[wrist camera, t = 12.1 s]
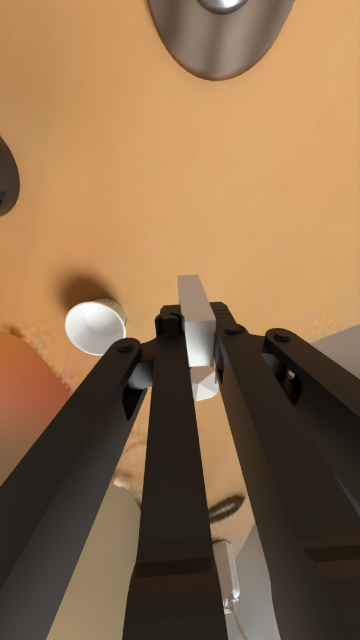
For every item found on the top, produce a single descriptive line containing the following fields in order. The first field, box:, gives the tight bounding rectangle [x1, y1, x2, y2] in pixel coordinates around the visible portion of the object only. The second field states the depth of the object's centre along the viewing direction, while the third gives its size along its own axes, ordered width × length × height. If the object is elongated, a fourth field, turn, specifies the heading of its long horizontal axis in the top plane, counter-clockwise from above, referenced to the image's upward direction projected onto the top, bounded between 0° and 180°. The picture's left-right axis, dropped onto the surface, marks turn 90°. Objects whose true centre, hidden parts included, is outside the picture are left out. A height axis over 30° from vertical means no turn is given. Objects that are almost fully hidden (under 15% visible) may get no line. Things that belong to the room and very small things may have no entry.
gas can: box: [212, 540, 248, 640], centre depth 79 cm, size 15×5×25 cm, turn 130°
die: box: [190, 366, 219, 401], centre depth 49 cm, size 8×9×10 cm
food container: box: [65, 299, 126, 355], centre depth 43 cm, size 12×12×6 cm
